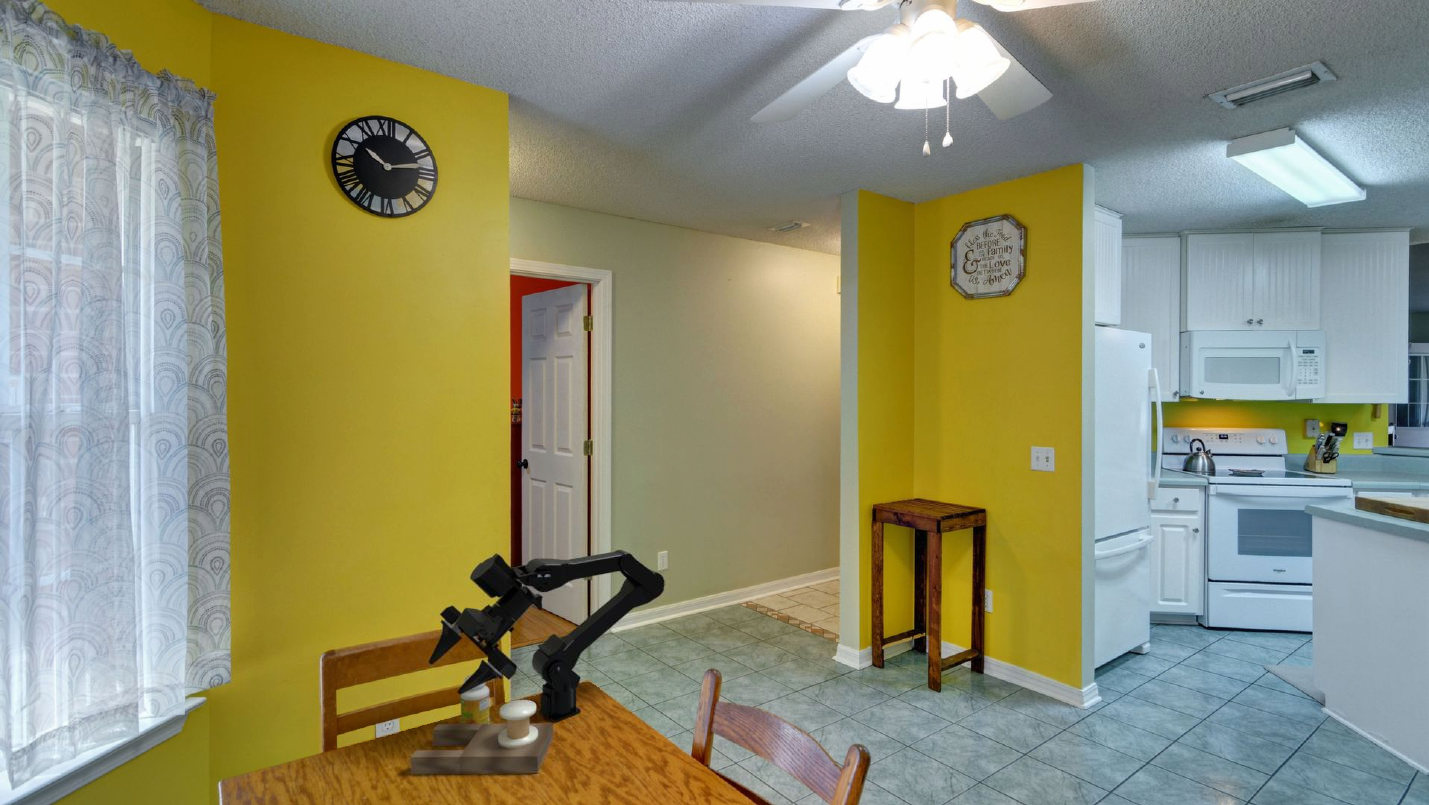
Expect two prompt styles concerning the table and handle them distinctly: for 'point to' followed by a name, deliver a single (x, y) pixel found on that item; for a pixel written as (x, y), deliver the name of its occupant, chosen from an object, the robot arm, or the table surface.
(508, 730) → the bobbin
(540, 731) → the notched board
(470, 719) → the supplement bottle
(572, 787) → the table surface
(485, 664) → the robot arm
